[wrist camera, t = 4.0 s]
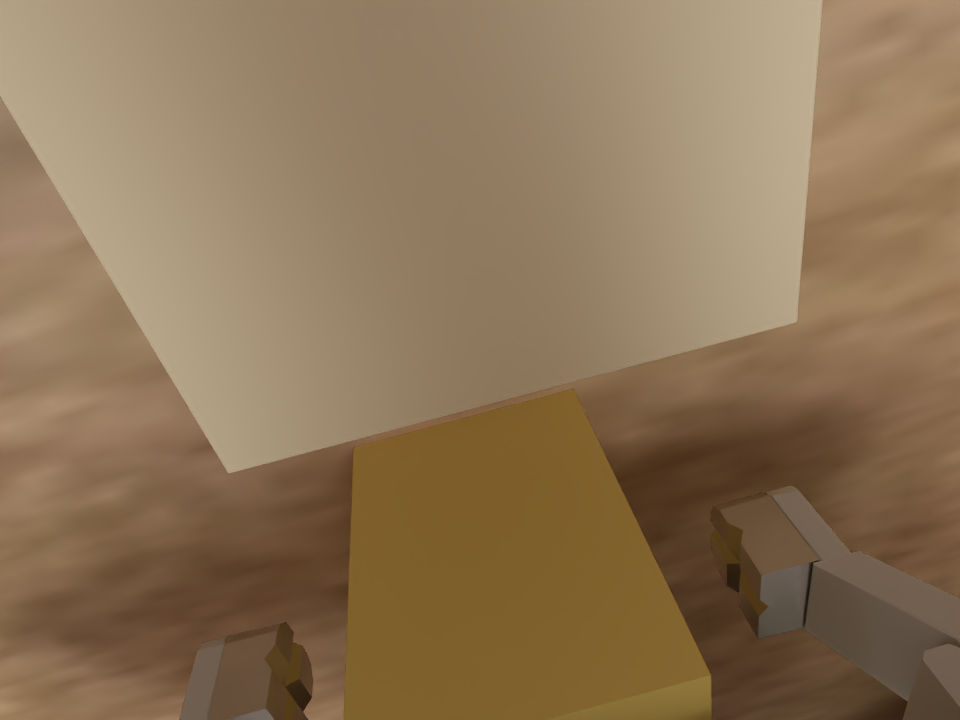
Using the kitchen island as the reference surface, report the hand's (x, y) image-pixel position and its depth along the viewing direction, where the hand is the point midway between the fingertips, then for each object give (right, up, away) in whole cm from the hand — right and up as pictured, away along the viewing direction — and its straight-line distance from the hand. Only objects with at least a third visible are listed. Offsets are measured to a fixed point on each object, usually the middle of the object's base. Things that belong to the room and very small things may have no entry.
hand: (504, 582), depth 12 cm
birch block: (-2, +9, -3) cm, 10 cm away
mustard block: (0, +1, +2) cm, 2 cm away
